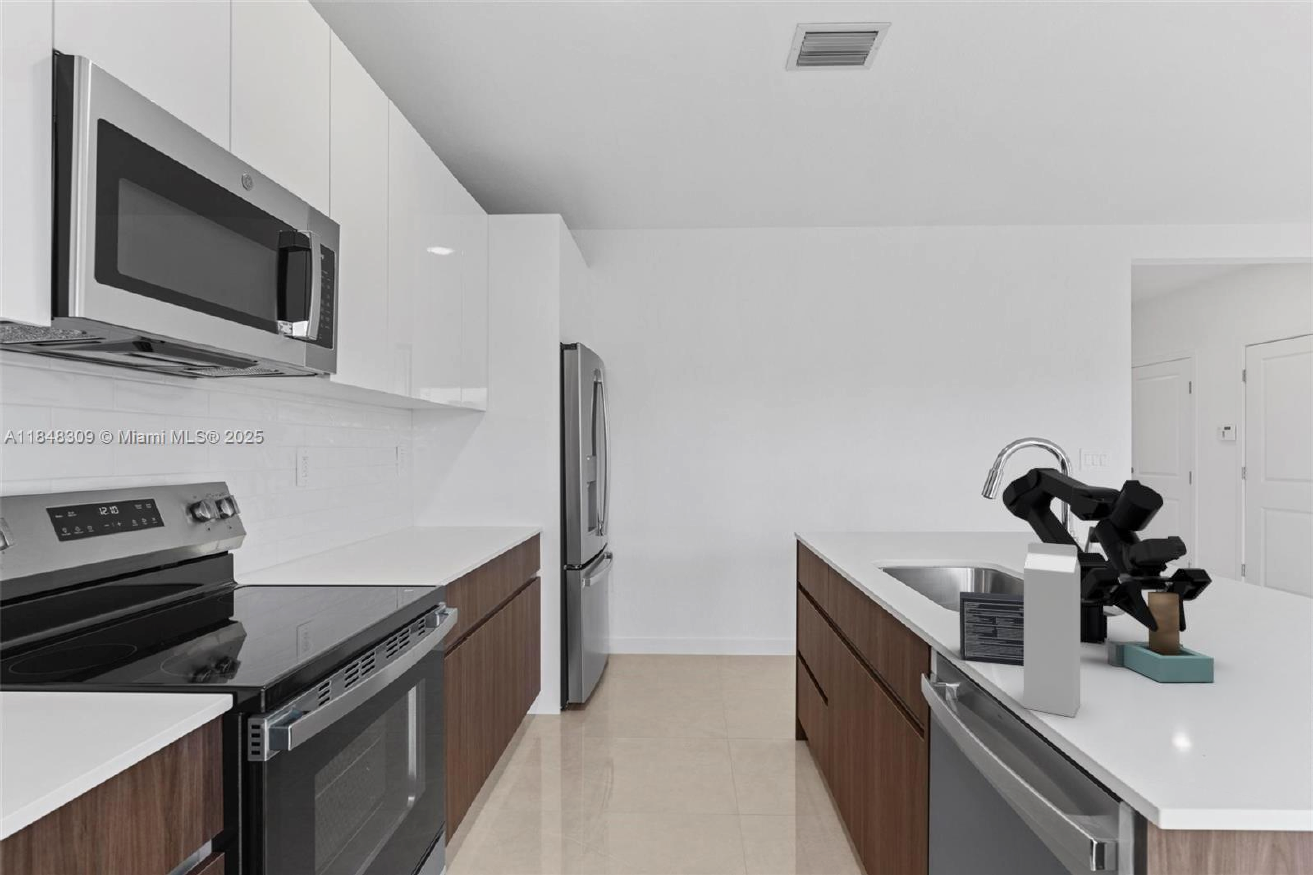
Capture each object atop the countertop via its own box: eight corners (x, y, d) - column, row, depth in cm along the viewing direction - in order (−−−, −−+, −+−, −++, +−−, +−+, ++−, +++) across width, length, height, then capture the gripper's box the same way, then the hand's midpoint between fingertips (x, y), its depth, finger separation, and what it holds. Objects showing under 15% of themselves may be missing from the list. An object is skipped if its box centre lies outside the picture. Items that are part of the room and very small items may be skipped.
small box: (1027, 656, 126) (1027, 593, 127) (1032, 667, 120) (1032, 601, 120) (959, 650, 130) (959, 589, 130) (961, 660, 124) (961, 596, 124)
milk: (1032, 696, 106) (1031, 539, 106) (1081, 705, 102) (1080, 543, 103) (1023, 708, 101) (1022, 543, 101) (1074, 718, 97) (1073, 547, 98)
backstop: (1107, 663, 122) (1107, 641, 123) (1174, 663, 123) (1174, 641, 123) (1115, 666, 120) (1115, 644, 121) (1183, 666, 121) (1183, 644, 121)
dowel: (1151, 672, 116) (1149, 594, 117) (1147, 666, 120) (1146, 590, 120) (1182, 676, 114) (1180, 596, 115) (1177, 670, 118) (1176, 592, 119)
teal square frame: (1124, 665, 121) (1124, 643, 121) (1174, 665, 121) (1174, 643, 121) (1159, 682, 112) (1159, 658, 112) (1213, 681, 113) (1213, 658, 113)
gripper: (1089, 518, 121) (1134, 601, 110) (1203, 518, 122) (1259, 601, 111) (1061, 559, 129) (1101, 641, 118) (1168, 559, 130) (1218, 641, 118)
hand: (1169, 630), depth 116 cm, fingers closed on dowel, 4 cm apart
